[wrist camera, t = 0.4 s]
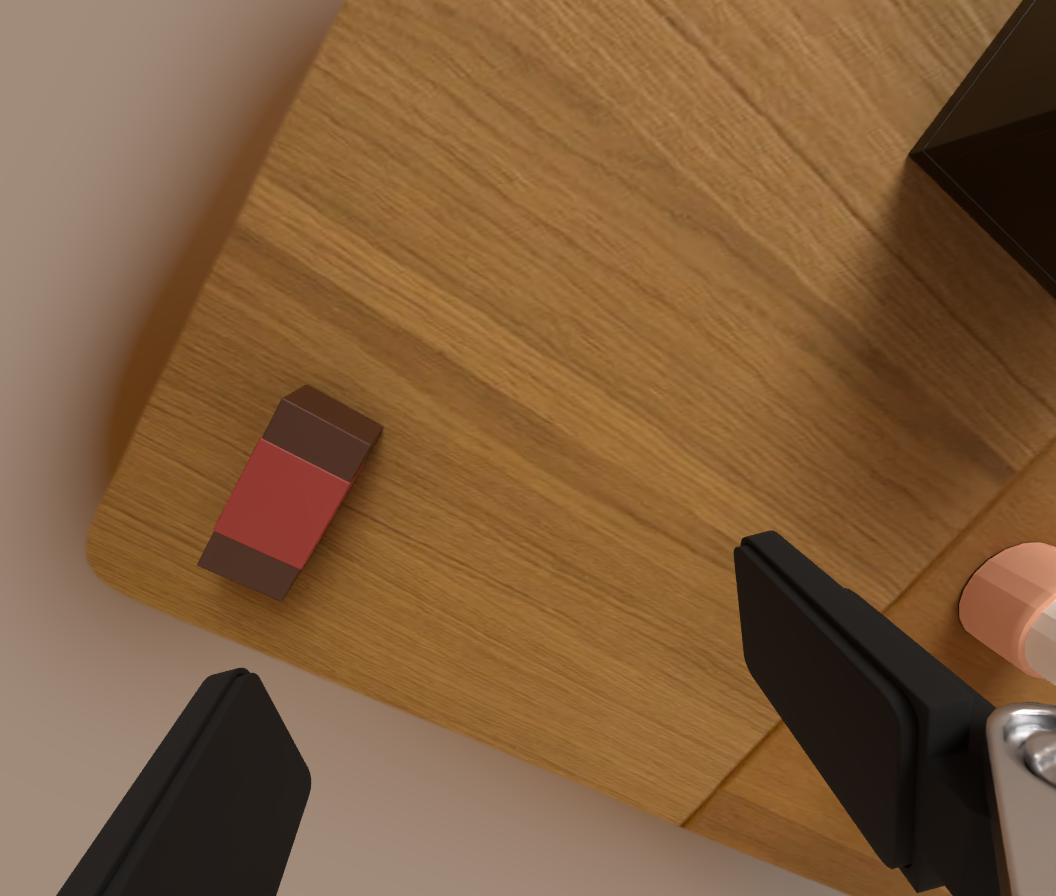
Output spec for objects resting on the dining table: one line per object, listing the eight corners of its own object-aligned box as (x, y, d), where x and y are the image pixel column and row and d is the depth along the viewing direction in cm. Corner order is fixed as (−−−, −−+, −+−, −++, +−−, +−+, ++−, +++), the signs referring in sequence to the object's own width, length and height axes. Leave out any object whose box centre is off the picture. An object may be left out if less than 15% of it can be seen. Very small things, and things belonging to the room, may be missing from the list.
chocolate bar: (304, 567, 26) (282, 603, 23) (227, 533, 25) (193, 566, 22) (385, 426, 24) (372, 446, 21) (305, 382, 23) (280, 397, 20)
